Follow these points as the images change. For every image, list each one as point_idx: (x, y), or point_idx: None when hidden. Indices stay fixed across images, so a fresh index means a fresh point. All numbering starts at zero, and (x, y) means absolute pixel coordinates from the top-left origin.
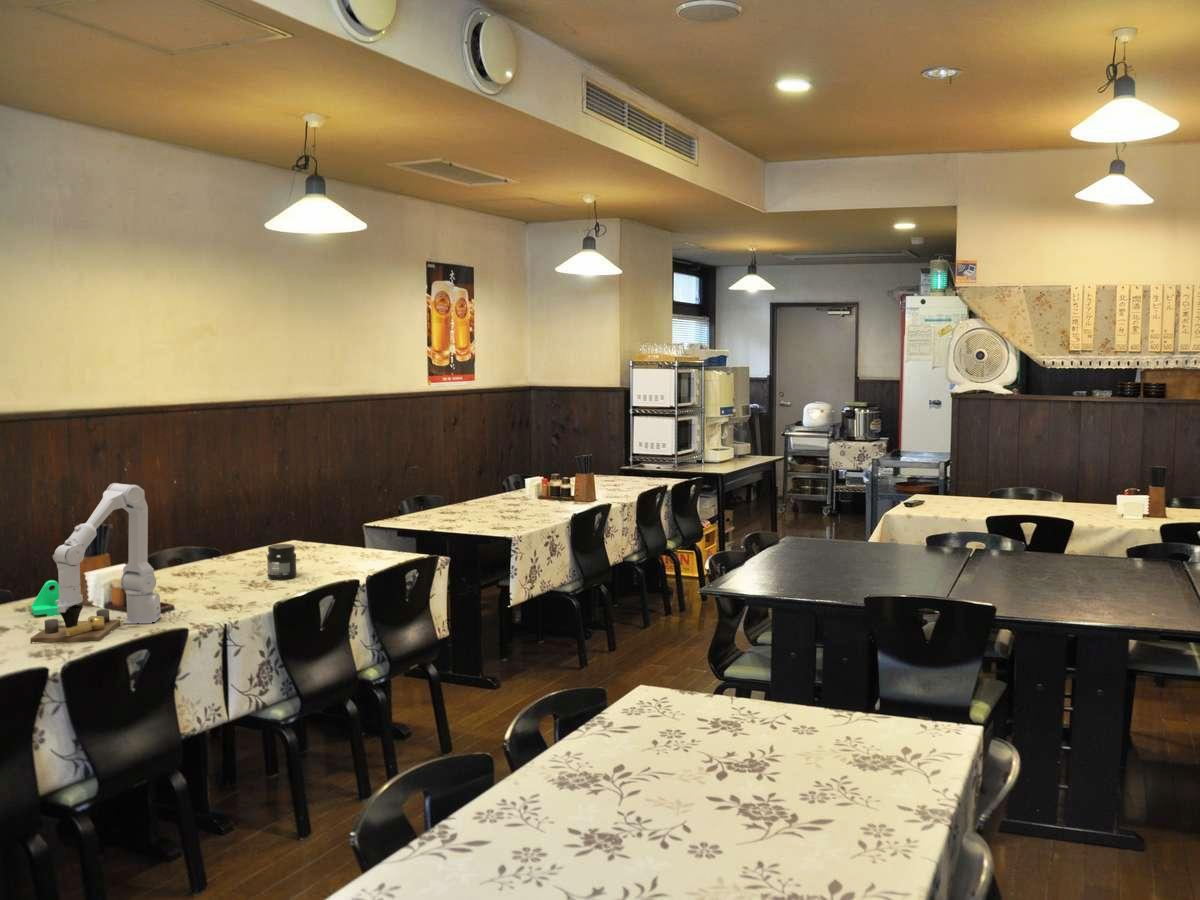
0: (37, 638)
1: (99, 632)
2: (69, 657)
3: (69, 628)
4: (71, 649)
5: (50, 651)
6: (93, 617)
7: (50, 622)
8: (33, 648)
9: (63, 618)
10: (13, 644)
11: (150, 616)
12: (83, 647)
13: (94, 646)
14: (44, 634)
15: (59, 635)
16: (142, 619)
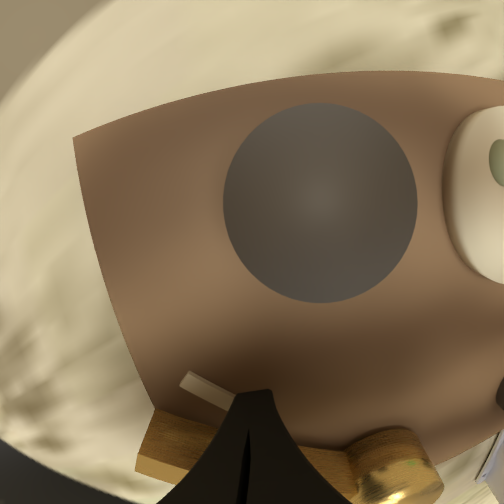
0: (83, 194)
1: None
2: (14, 446)
3: (144, 470)
4: (73, 438)
5: (14, 366)
6: (409, 498)
7: (233, 245)
8: (12, 249)
9: (178, 486)
10: (70, 52)
11: (495, 484)
12: (116, 469)
13: (146, 494)
14: (196, 179)
15: (188, 337)
16: (498, 464)
